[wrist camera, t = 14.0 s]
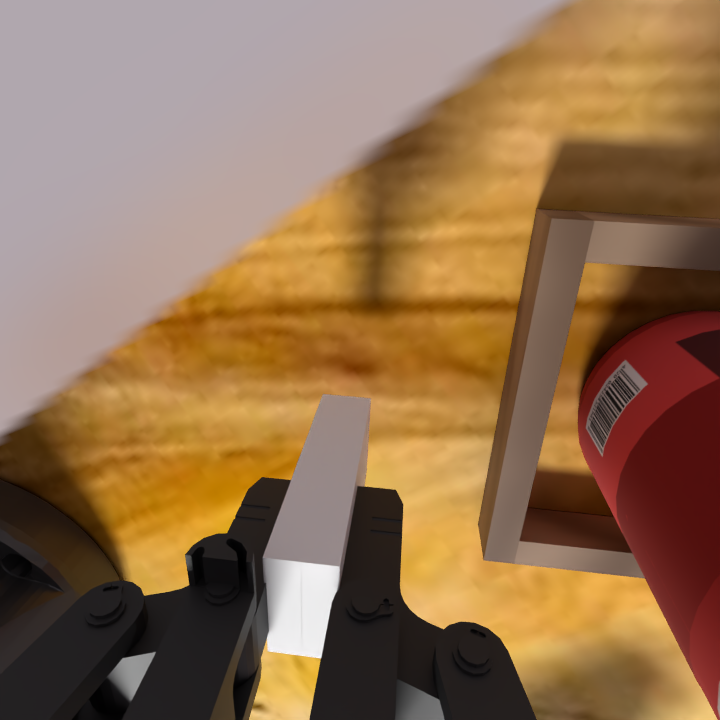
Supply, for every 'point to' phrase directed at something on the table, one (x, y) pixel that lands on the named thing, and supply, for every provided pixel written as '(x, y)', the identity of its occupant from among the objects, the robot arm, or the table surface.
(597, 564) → the brown open rectangular frame
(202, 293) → the table surface
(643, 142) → the table surface
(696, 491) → the canned food
